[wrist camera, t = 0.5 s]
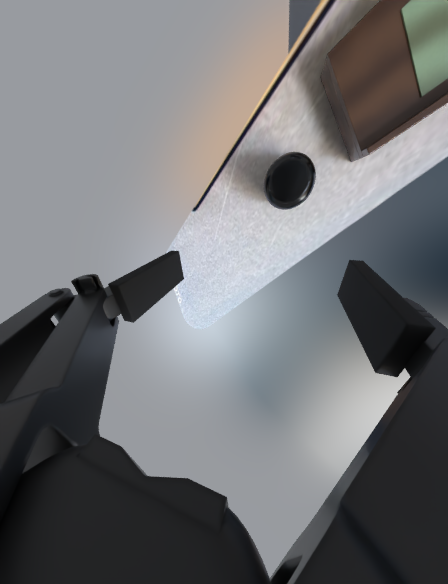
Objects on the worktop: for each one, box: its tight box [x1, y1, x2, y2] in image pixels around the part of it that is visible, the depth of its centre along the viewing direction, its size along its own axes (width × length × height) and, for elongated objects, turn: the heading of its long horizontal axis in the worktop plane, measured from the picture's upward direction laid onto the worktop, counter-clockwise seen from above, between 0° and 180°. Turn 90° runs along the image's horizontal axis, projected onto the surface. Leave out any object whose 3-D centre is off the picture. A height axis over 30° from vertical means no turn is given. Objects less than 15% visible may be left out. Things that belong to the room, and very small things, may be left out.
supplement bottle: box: [264, 152, 316, 209], centre depth 26 cm, size 7×7×12 cm
